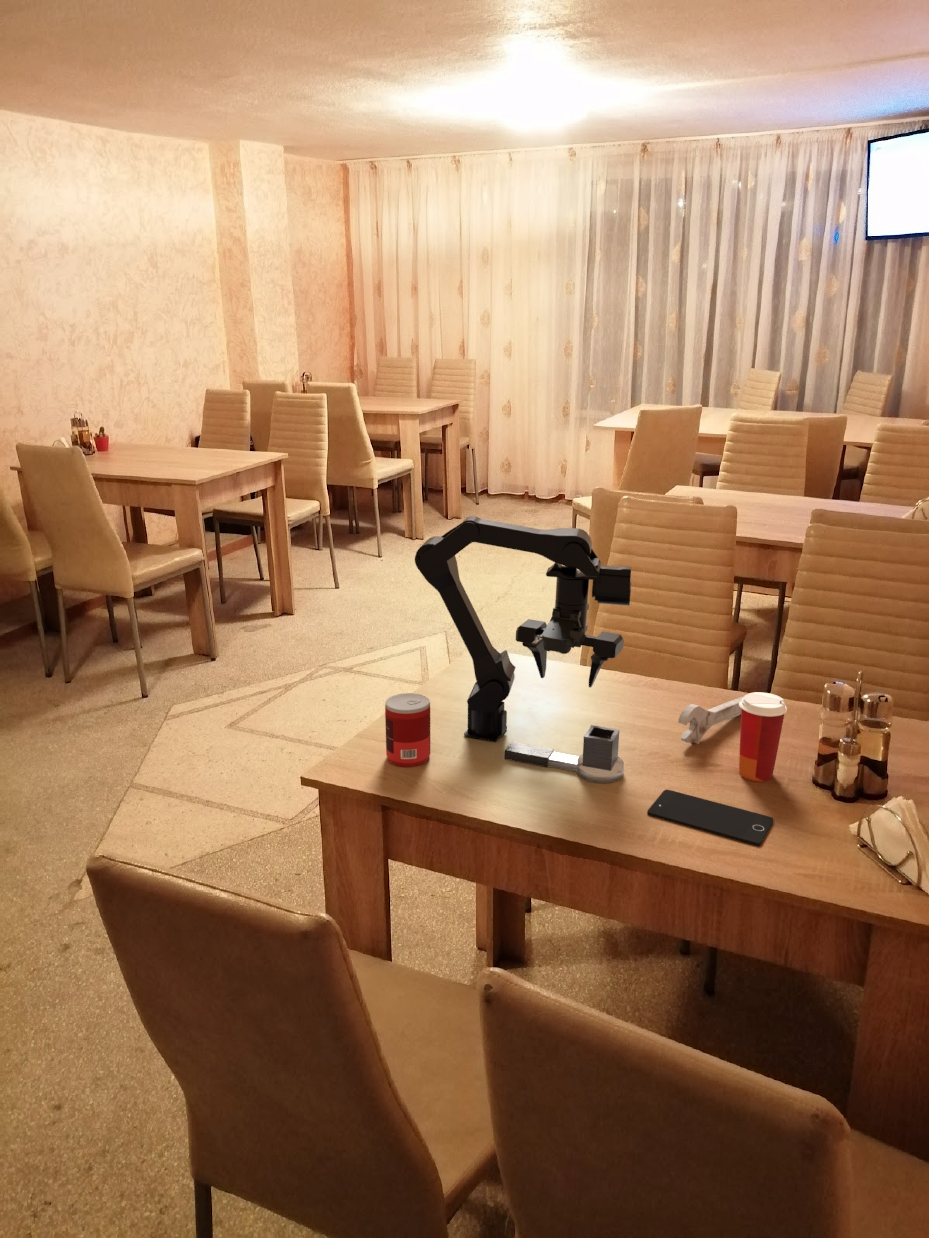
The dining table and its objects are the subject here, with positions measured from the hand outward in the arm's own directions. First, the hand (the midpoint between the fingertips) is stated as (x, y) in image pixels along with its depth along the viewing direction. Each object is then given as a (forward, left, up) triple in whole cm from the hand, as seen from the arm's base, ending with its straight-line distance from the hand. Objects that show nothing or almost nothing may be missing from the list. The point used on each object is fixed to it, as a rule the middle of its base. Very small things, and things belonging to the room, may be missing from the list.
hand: (566, 682), depth 173 cm
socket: (+9, -10, -10) cm, 17 cm away
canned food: (-23, -18, -12) cm, 32 cm away
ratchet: (+3, -10, -12) cm, 16 cm away
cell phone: (+30, -18, -12) cm, 37 cm away
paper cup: (+35, 0, -12) cm, 36 cm away
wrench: (+26, +17, -12) cm, 33 cm away
